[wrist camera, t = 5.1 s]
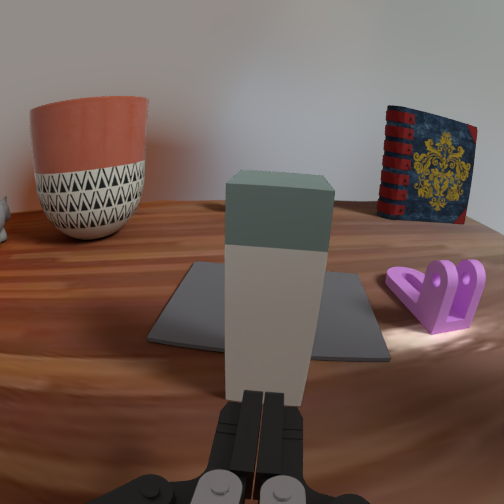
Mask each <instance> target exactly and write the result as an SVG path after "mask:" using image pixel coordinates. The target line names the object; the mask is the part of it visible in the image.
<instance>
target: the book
mask: <svg viewBox="0 0 504 504" xmlns="http://www.w3.org/2000/svg"><path fill="white" fill-rule="evenodd" d="M386 121H387V124H386V126H385V135H386V139H385V140H384V155H383V162H382V165H383V170H382V171H381V184H380V189H379V195H380V196H379V199H378V204H377V210H378V211H377V215H378V216H380V217H383V218H386V219H391V220H410V221H427V222H442V223H454V224H464V222H465V217H466V211H467V205H468V200H469V194H470V188H471V181H472V174H473V166H474V158H475V148H476V139H477V127H474V126H471V125H469V124H465V123H461V122H459V121H455V120H452V119H448V118H445V117H441V116H438V115H434V114H430V113H426V112H422V111H418V110H414V109H410V108H406V107H401V106H390V105H389V106H388V107H387V111H386Z"/></svg>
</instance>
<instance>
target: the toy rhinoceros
mask: <svg viewBox="0 0 504 504" xmlns="http://www.w3.org/2000/svg"><path fill="white" fill-rule="evenodd" d="M9 219H10V211H9V206H8V204H7V197H6V196H5V197H4V199H3V200H0V243H1V242H3V241H5V240H6V239H7V233H6V231H5V229H4V224H5V222H7V221H8V220H9Z"/></svg>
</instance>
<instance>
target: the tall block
mask: <svg viewBox="0 0 504 504" xmlns="http://www.w3.org/2000/svg"><path fill="white" fill-rule="evenodd" d="M334 196H335V190H334V189H333V188H332V186H331V185H330V184H329V183H328V181H327V180H326V179H325V177H324V176H322V175H310V174H298V173H285V172H270V171H253V170H252V171H251V170H240V171H239V172H238V173H237V174H236V175H235V176H234V177H233V178H231V179H230V180H229V181H228V182H227V183H226V207H225V392H226V400H233V401H241V402H242V398H243V393H244V390H253V391H263V400H262V404H264V397H265V392H278V393H284V405H287V406H301V402H302V398H303V393H304V388H305V383H306V379H307V374H308V369H309V364H310V358H311V353H312V348H313V343H314V337H315V332H316V326H317V320H318V314H319V308H320V302H321V296H322V289H323V283H324V276H325V269H326V262H327V255H328V247H329V239H330V231H331V223H332V214H333V205H334Z"/></svg>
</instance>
